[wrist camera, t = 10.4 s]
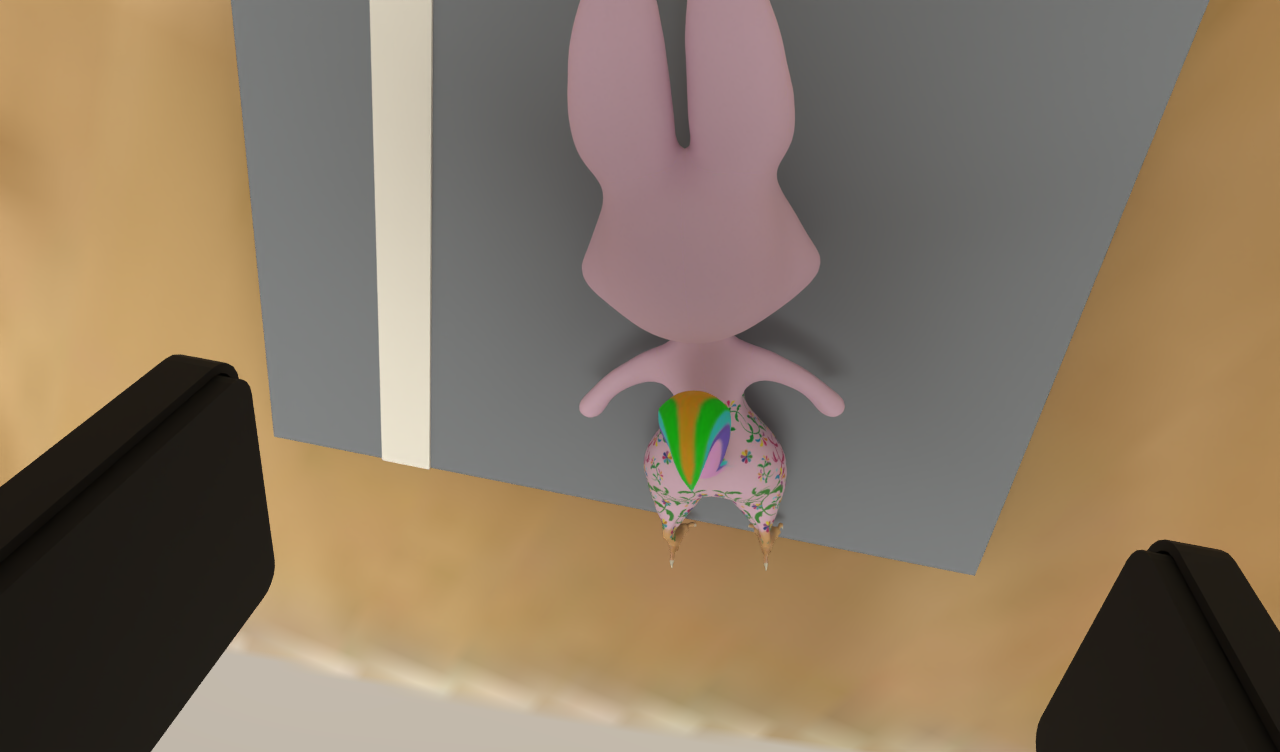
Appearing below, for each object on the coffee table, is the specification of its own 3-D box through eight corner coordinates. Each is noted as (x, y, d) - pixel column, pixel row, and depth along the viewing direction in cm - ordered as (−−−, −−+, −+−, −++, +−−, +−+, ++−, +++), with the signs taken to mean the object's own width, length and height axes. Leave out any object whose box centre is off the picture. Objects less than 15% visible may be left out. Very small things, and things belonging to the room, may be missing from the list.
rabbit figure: (837, 484, 24) (851, -123, 16) (847, 669, 20) (875, -49, 11) (619, 481, 26) (515, -85, 17) (580, 655, 21) (407, -4, 12)
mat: (225, -227, 18) (205, -232, 17) (1232, -92, 16) (1249, -92, 16) (284, 425, 26) (272, 438, 25) (970, 561, 24) (975, 578, 23)
